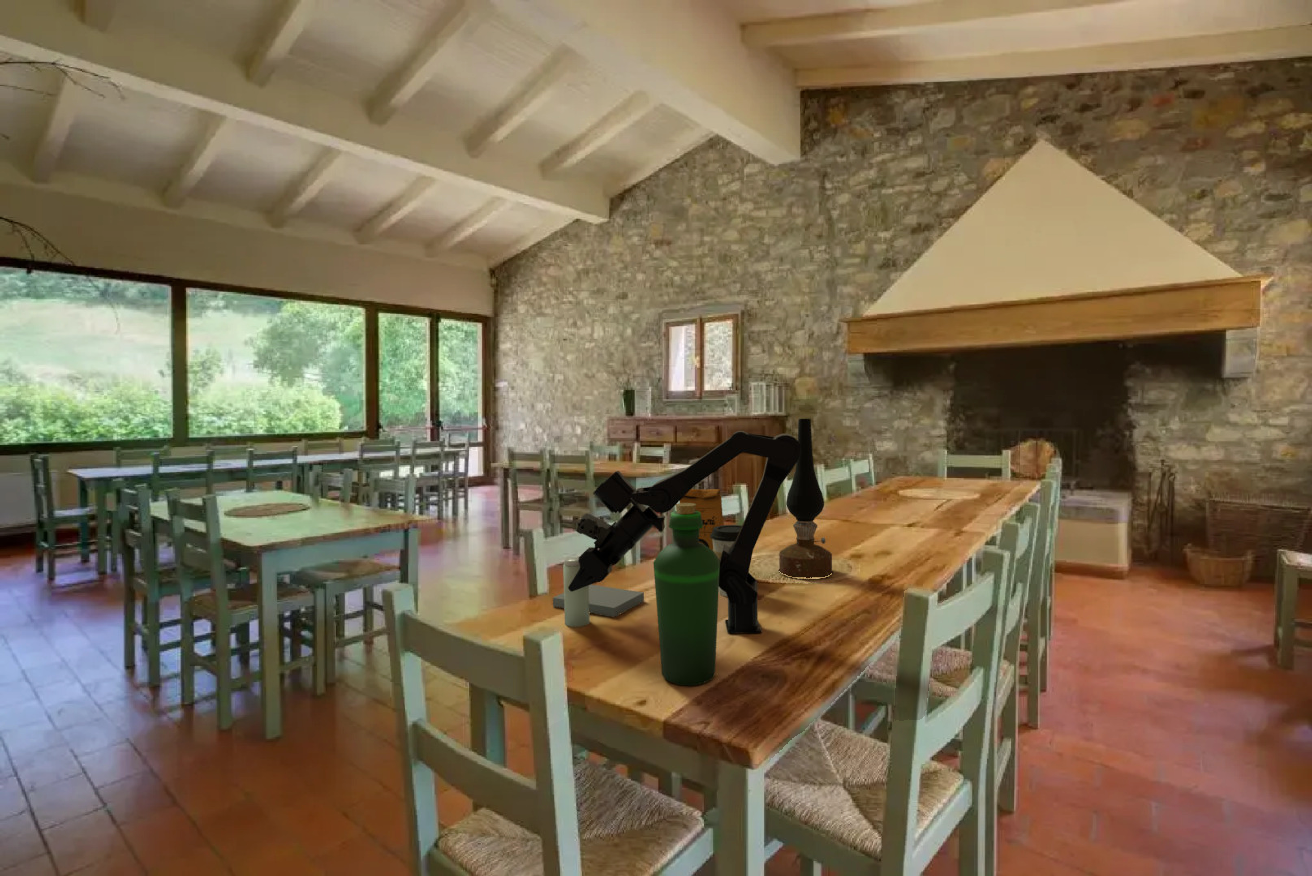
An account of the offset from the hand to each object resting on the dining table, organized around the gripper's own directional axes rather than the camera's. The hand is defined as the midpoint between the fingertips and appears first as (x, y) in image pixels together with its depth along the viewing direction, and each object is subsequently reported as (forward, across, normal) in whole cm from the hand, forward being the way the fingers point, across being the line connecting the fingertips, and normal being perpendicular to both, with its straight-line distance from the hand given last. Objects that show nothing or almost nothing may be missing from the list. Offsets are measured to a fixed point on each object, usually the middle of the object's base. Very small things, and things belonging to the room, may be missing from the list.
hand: (576, 583), depth 132 cm
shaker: (+6, 0, +6) cm, 8 cm away
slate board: (+5, -12, +7) cm, 15 cm away
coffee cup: (-16, -23, +27) cm, 39 cm away
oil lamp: (-28, -42, +40) cm, 65 cm away
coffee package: (-10, -39, +22) cm, 46 cm away
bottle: (-12, +23, +24) cm, 35 cm away
